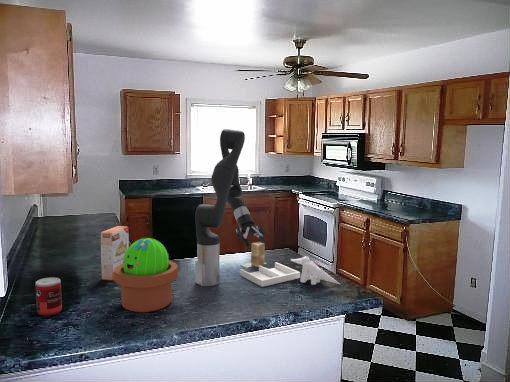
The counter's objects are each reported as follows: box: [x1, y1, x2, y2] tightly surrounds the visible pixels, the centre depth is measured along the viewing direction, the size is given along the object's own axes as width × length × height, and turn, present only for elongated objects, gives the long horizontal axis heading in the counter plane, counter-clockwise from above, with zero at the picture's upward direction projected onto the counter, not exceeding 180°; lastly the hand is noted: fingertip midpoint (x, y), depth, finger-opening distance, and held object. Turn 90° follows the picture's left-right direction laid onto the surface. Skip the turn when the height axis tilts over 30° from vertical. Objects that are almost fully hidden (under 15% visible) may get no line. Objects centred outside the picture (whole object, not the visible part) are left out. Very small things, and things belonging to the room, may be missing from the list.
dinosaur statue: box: [290, 255, 341, 285], centre depth 172 cm, size 7×24×11 cm, turn 54°
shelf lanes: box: [239, 261, 301, 287], centre depth 180 cm, size 20×17×4 cm
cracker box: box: [100, 225, 130, 281], centre depth 181 cm, size 14×6×21 cm, turn 168°
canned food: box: [35, 277, 63, 317], centre depth 143 cm, size 8×8×11 cm
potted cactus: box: [113, 236, 179, 313], centre depth 150 cm, size 22×22×25 cm
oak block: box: [250, 241, 266, 268], centre depth 195 cm, size 4×4×11 cm
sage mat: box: [240, 261, 267, 269], centre depth 196 cm, size 12×12×1 cm
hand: (256, 245), depth 196 cm, fingers open, 8 cm apart
